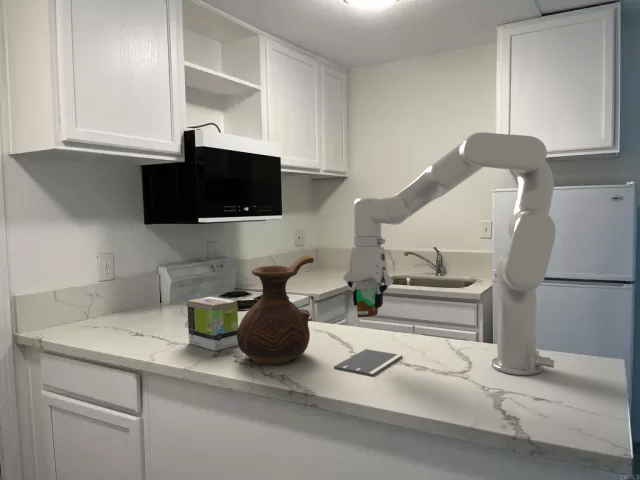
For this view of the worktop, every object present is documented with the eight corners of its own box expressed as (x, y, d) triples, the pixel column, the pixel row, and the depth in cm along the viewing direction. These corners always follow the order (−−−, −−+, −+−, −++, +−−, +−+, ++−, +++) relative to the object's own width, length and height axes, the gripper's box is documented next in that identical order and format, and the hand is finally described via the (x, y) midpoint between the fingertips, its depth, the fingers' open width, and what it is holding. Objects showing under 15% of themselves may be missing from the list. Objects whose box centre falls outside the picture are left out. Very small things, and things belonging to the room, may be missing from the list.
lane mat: (402, 357, 141) (402, 354, 141) (372, 376, 126) (372, 373, 126) (365, 350, 147) (365, 348, 147) (334, 368, 133) (334, 366, 133)
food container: (379, 319, 130) (378, 282, 129) (356, 318, 131) (356, 281, 130) (384, 309, 142) (383, 275, 141) (363, 308, 143) (362, 274, 142)
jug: (285, 375, 128) (281, 263, 126) (222, 364, 139) (218, 260, 137) (324, 352, 147) (322, 254, 145) (266, 343, 158) (263, 252, 156)
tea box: (240, 344, 158) (238, 300, 157) (214, 352, 150) (212, 305, 149) (213, 337, 168) (211, 295, 167) (187, 343, 161) (185, 299, 159)
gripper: (401, 242, 133) (401, 307, 135) (347, 240, 143) (348, 300, 144) (389, 244, 127) (389, 312, 129) (334, 242, 137) (334, 305, 138)
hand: (367, 305), depth 136 cm, fingers closed on food container, 5 cm apart
